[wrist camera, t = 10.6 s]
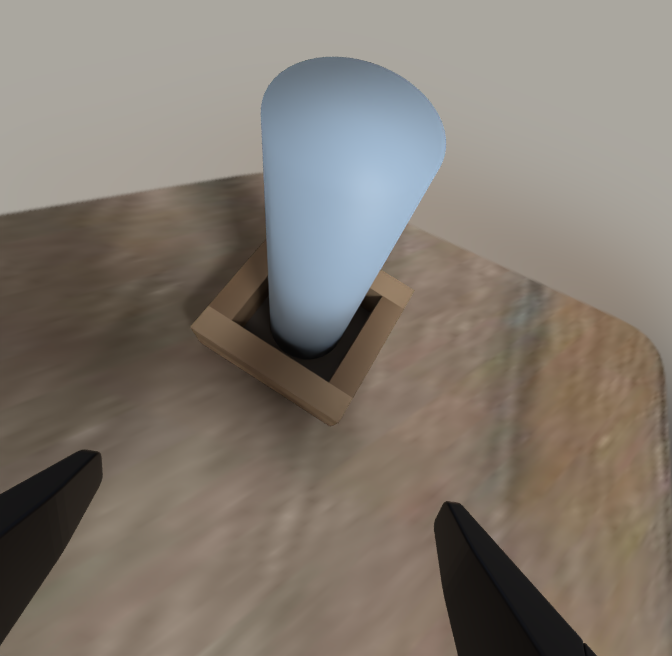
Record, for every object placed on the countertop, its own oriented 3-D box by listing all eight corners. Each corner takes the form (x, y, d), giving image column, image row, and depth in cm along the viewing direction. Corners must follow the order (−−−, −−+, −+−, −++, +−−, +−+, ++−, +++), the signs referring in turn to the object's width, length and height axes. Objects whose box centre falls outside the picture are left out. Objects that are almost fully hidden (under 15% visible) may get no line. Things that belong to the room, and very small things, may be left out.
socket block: (398, 308, 20) (414, 290, 18) (330, 426, 17) (338, 422, 15) (287, 239, 21) (288, 212, 18) (201, 343, 18) (189, 326, 15)
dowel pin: (356, 329, 19) (480, 146, 8) (302, 374, 18) (352, 234, 6) (311, 279, 20) (361, 37, 8) (255, 318, 18) (219, 94, 7)
